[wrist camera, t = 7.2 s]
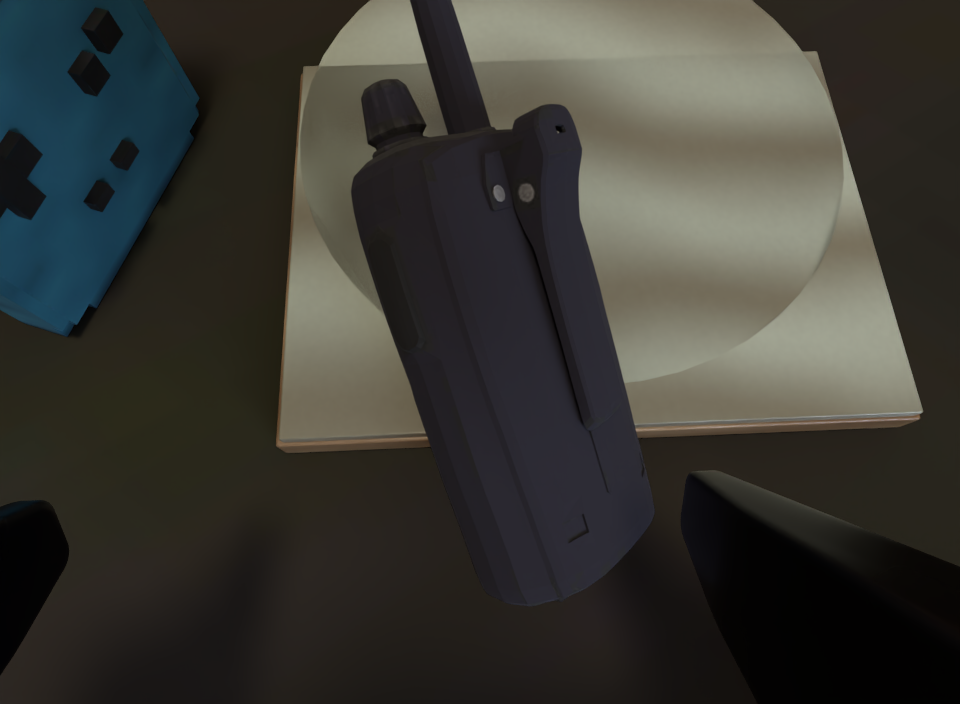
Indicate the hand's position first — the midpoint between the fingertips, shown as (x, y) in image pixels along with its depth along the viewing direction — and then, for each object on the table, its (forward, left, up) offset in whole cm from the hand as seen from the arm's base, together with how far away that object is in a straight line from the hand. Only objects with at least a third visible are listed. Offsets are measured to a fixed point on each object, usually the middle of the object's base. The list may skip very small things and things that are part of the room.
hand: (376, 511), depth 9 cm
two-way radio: (-4, -2, -6) cm, 8 cm away
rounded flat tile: (+3, -13, -9) cm, 16 cm away
